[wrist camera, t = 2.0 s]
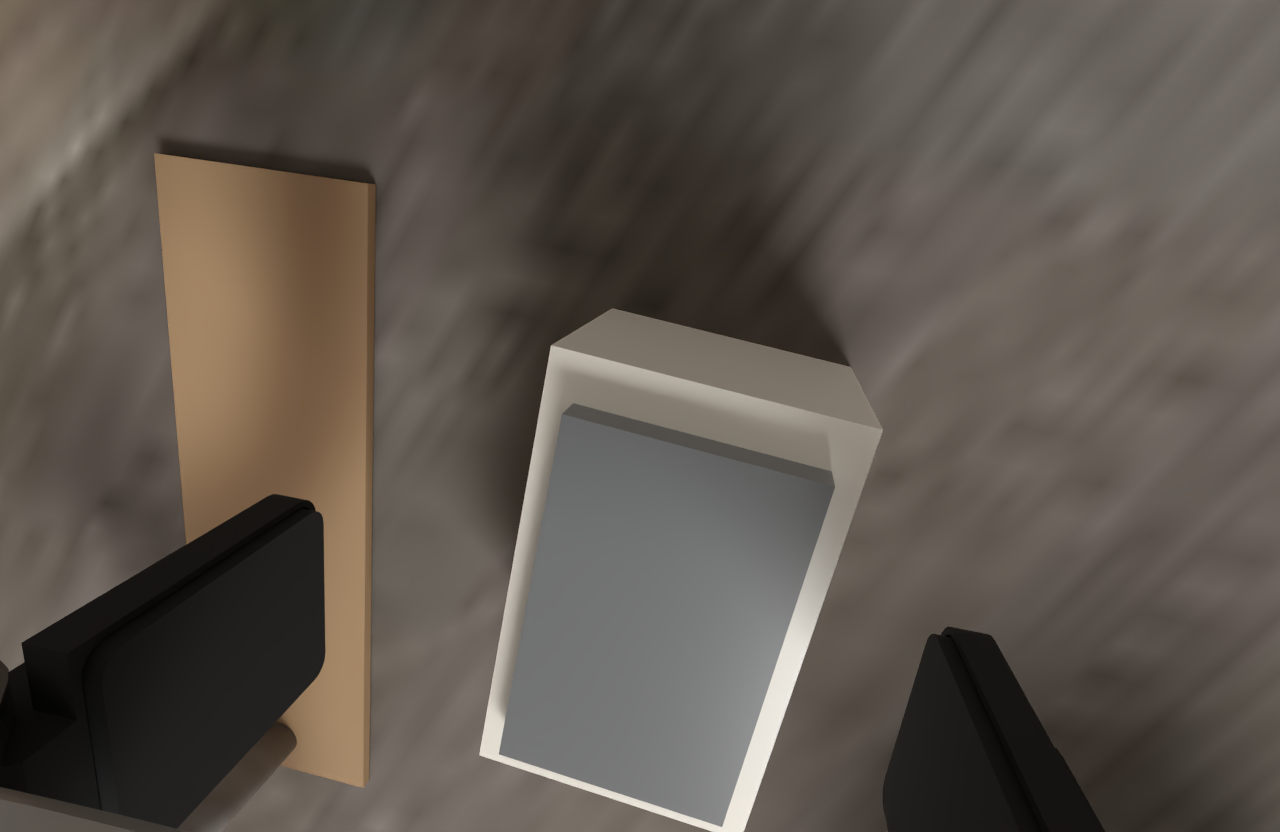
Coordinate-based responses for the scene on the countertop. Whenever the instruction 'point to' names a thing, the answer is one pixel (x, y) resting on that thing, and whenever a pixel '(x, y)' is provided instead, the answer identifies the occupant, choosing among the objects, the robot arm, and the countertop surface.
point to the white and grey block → (672, 562)
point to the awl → (242, 781)
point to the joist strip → (281, 395)
